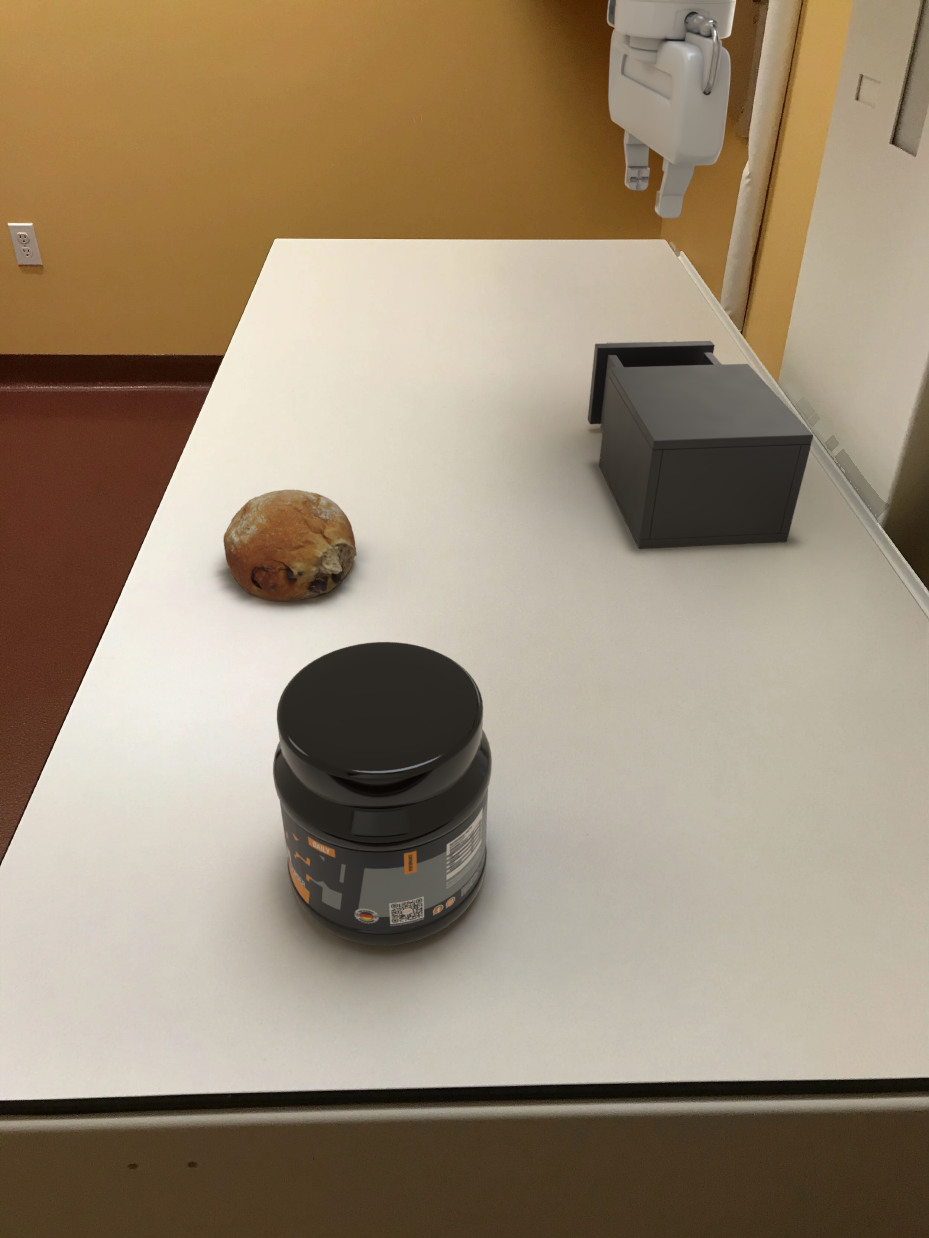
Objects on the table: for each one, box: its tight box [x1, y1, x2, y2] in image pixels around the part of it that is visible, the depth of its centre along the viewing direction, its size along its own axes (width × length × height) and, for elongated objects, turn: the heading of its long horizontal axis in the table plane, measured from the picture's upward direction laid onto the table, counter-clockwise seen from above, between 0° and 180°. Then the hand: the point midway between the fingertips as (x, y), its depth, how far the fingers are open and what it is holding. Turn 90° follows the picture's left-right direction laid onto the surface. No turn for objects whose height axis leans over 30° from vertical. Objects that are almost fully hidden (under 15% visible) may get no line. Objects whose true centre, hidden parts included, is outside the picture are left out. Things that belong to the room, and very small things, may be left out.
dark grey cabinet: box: [598, 363, 814, 549], centre depth 82 cm, size 15×13×10 cm
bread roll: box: [223, 489, 357, 602], centre depth 74 cm, size 10×10×8 cm
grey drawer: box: [587, 340, 723, 432], centre depth 90 cm, size 18×11×8 cm, turn 6°
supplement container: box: [272, 641, 493, 946], centre depth 48 cm, size 10×10×12 cm
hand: (650, 202), depth 81 cm, fingers open, 8 cm apart
